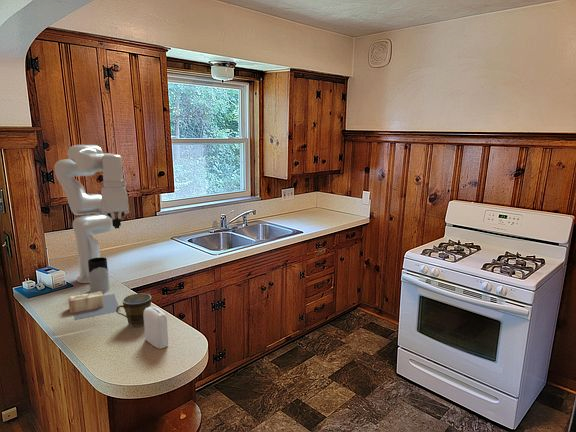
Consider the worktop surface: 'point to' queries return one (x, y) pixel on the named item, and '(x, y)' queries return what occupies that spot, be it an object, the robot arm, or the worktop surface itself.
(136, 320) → the ceramic cup
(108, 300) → the rubber mat
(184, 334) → the worktop surface
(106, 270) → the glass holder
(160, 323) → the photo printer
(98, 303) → the maple block
